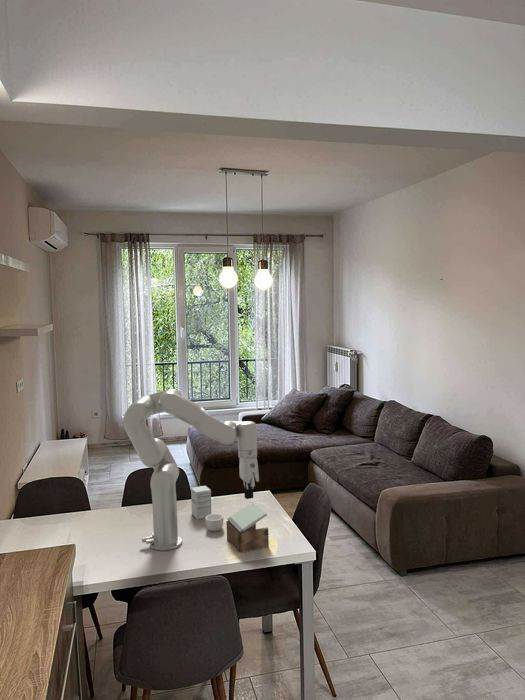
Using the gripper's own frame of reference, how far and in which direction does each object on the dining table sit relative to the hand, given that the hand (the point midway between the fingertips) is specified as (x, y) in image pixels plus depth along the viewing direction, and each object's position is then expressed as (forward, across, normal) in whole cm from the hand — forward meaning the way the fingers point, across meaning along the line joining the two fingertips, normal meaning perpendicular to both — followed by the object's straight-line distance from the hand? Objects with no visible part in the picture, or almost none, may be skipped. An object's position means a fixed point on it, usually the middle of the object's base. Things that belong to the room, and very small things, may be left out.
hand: (249, 497), depth 219 cm
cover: (+8, 0, +1) cm, 8 cm away
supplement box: (+18, +37, +9) cm, 42 cm away
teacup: (+18, +20, +8) cm, 29 cm away
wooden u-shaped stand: (+18, 0, +1) cm, 18 cm away
